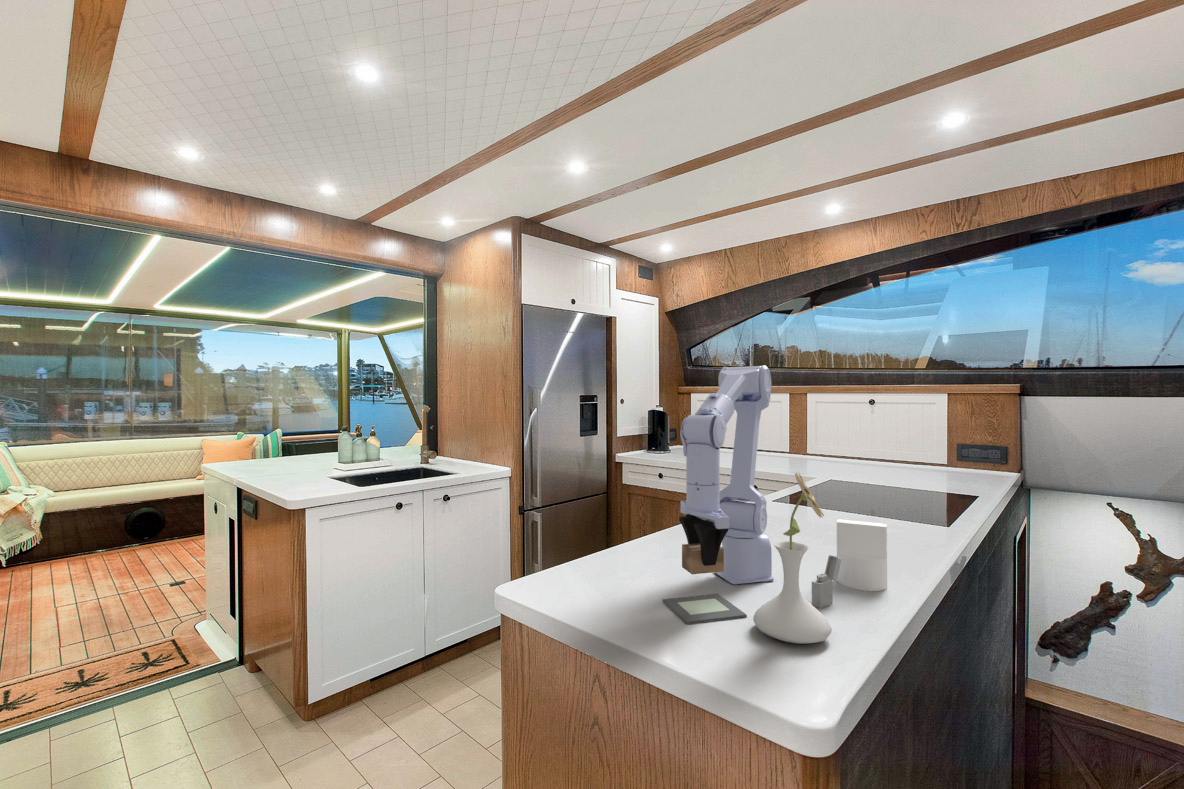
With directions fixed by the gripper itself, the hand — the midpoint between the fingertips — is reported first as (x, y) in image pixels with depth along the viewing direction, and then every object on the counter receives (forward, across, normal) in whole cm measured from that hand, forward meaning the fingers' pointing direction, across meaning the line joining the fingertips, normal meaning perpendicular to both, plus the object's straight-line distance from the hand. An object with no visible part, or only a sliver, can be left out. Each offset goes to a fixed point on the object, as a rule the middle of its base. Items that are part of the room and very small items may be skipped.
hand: (703, 560), depth 90 cm
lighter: (+9, +3, +23) cm, 25 cm away
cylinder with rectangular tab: (+9, -4, +37) cm, 38 cm away
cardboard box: (+2, 0, 0) cm, 2 cm away
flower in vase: (+9, +12, +10) cm, 18 cm away
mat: (+8, 0, 0) cm, 8 cm away
